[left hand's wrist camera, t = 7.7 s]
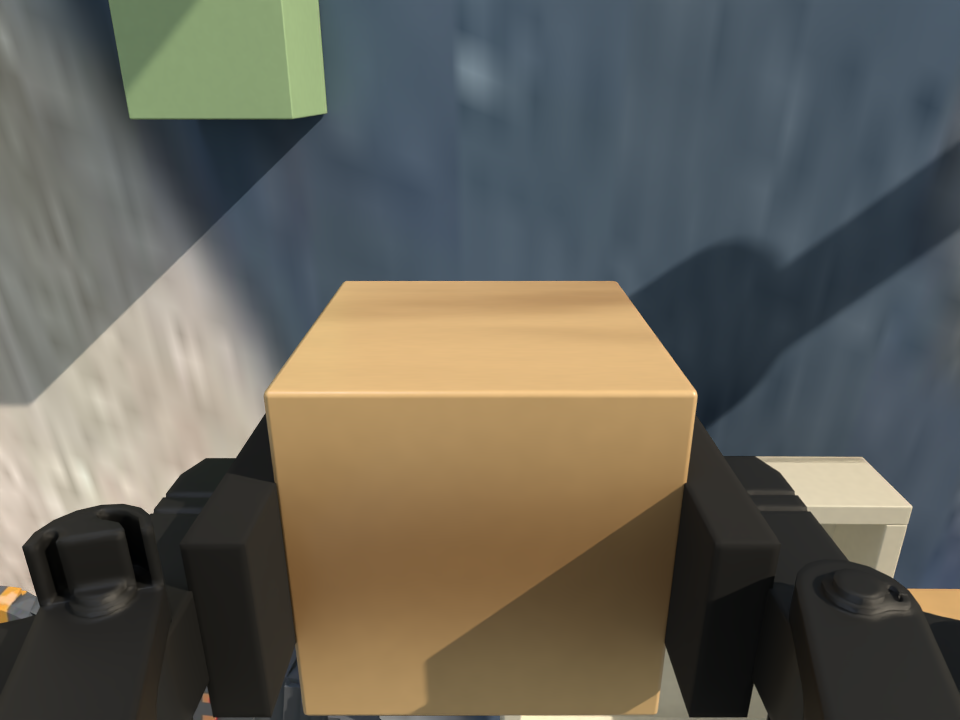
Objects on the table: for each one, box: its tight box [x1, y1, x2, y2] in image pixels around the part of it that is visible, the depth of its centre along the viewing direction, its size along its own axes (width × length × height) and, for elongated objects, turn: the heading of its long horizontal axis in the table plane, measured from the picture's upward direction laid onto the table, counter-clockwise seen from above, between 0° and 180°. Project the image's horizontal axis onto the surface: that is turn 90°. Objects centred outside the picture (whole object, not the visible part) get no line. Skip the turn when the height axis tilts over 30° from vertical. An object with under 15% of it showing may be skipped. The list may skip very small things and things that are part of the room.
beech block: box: [264, 281, 698, 716], centre depth 12 cm, size 6×6×6 cm
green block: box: [109, 0, 327, 119], centre depth 24 cm, size 6×6×6 cm
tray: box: [500, 456, 960, 720], centre depth 27 cm, size 15×29×7 cm, turn 90°
